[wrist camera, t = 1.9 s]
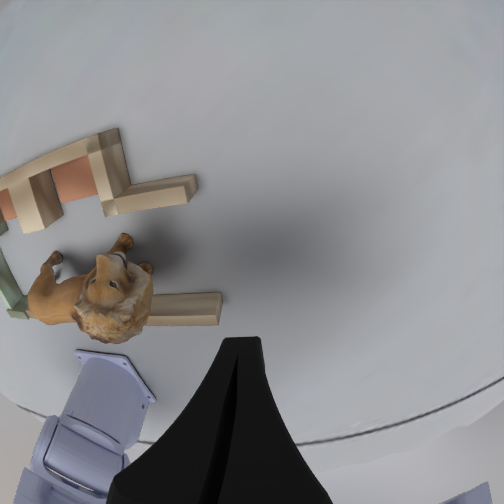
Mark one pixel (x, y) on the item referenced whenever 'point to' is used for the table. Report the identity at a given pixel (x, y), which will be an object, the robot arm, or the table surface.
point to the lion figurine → (97, 296)
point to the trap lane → (113, 202)
